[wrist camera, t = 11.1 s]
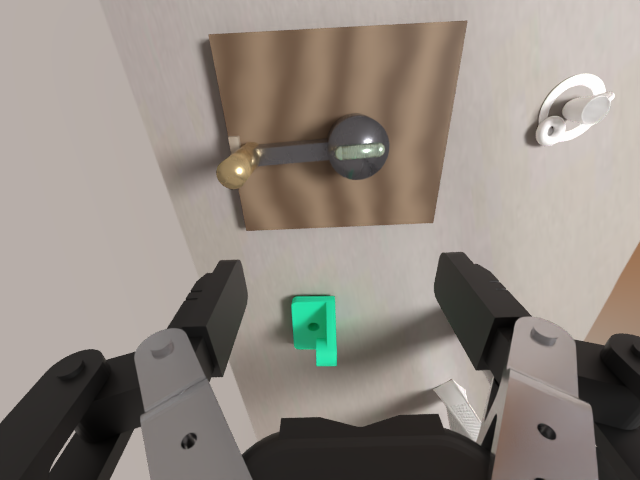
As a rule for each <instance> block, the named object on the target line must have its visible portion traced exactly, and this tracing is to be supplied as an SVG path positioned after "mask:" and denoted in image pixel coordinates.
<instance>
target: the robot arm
mask: <svg viewBox="0 0 640 480" xmlns="http://www.w3.org/2000/svg"><path fill="white" fill-rule="evenodd" d="M434 293H435V297H436V299H437V301H438V303H439V305H440V307H441V309H442V310H443V312H444V314H445V316H446V318H447V319H448V321H449V323H450V325H451V327H452V328H453V330H454V332H455V334H456V336H457V337H458V339H459V341H460V343H461V344H462V346H463V348H464V350H465V352H466V353H467V355H468V357H469V359H470V361H471V362H472V364H473V366H474V368H475V370H482V371H483V373H484V375H485V376H486V378H487V380H488V381H489V383H490V389H489V393H488V397H487V402H486V406H485V410H484V415H483V419H482V423H481V428H480V431H479V435H478V438H477V441H476V442H475V441H473V440H471V439H470V438H468V437H466V436H464V435H462V434H460V433H457V432H455V431H452V430H449V429H446V428H443V425H442V423H441V420H440V417H439V414H418V415H398V416H395V417H392V418H389V419H386V420H383V421H380V422H377V423H373V424H370V425H367V426H364V427H356V426H352V425H348V424H344V423H340V422H337V421H333V420H329V419H325V418H321V417H309V418H281V424H280V432H277V433H274V434H271V435H269V436H267V437H265V438H263V439H262V440H260V441H258V442H257V443H255V444H254V445H253V446H251V447H250V448H249V449H248V450H246V452H244V453H243V454H242V455H241V453H240V451H239V448H238V446H237V444H236V442H235V439H234V437H233V435H232V433H231V431H230V429H229V426H228V424H227V422H226V420H225V417H224V415H223V413H222V410H221V408H220V406H219V404H218V401H217V399H216V397H215V395H214V392H213V390H212V388H211V386H210V384H209V382H210V379H211V377H223V375H224V372H225V369H226V366H227V363H228V360H229V357H230V354H231V351H232V348H233V345H234V342H235V339H236V336H237V333H238V330H239V327H240V324H241V321H242V318H243V315H244V312H245V309H246V305H247V299H248V293H247V287H246V282H245V277H244V273H243V268H242V264H241V261H240V260H221V261H219V262H218V264H217V266H216V268H215V269H214V271H213V273H206V274H205V275H204V276H203V277H201V278H200V279H199V280H198V281H197V282H196V283H195V285H194V286H193V288H192V290H191V293H189V294H188V296H187V297H186V301H184V302H183V304H182V305H181V307H180V309H179V310H178V312H177V313H176V315H175V317H174V318H173V320H172V321H171V323H170V325H169V326H168V328H167V329H165V330H161V331H159V332H157V333H155V334H153V335H151V336H149V337H148V338H147V339H145V340H144V341H143V342H142V343H141V344H140V346H139V347H138V348H137V350H136V352H133V353H130V354H126V355H122V356H118V357H115V358H111V359H108V360H106V359H105V358H104V356H103V355H102V353H101V352H100V351H98V350H94V349H89V350H83V351H79V352H76V353H74V354H71V355H69V356H67V357H65V358H63V359H62V360H60V361H59V362H57V363H56V364H55V365H53V366H52V367H51V368H50V369H49V370H48V371H47V372H46V373H45V374H44V375H43V376H42V377H41V378H40V379H39V381H38V382H37V383H36V384H35V385H34V386H33V387H32V388H31V389H30V391H29V392H28V393H27V394H26V395H25V396H24V397H23V398H22V400H21V401H20V402H19V403H18V404H17V405H16V406H15V407H14V409H13V410H12V411H11V412H10V413H9V414H8V415H7V416H6V417H5V419H4V420H3V421H2V422H1V423H0V480H110V478H111V476H112V474H113V472H114V469H115V467H116V465H117V463H118V461H119V459H120V457H121V455H122V453H123V451H124V449H125V447H126V445H127V443H128V441H129V439H130V437H131V434H132V432H133V430H134V429H135V428H138V427H141V428H142V434H143V439H144V444H145V450H146V456H147V462H148V467H149V473H150V478H151V480H640V337H639V336H635V335H630V334H614V335H612V336H611V337H610V338H609V340H608V341H607V343H606V344H605V346H604V345H599V344H594V343H589V342H584V341H579V340H574V339H573V338H572V336H571V335H570V334H569V333H568V332H567V331H565V330H564V329H563V328H561V327H560V326H558V325H556V324H555V323H552V322H550V321H548V320H545V319H542V318H538V317H532V316H531V315H530V314H529V313H528V312H527V310H526V309H525V308H524V307H523V306H522V305H521V304H520V303H519V302H518V301H517V300H516V299H515V298H514V297H513V295H512V294H511V293H510V292H509V291H508V290H506V288H505V287H504V286H503V285H502V284H501V283H499V280H498V279H497V278H496V277H495V276H494V275H493V274H492V273H491V272H490V271H488V270H487V269H485V268H483V267H482V266H480V265H478V264H473V262H472V261H471V260H470V259H469V258H468V257H467V256H466V254H465V253H463V252H449V253H442V254H441V255H440V258H439V262H438V267H437V272H436V277H435V282H434ZM74 430H75V432H76V433H75V434H74V436H73V437H72V439H71V440H70V442H69V443H68V445H67V446H66V448H65V450H64V451H63V453H62V454H61V456H60V457H59V459H58V460H57V462H56V463H55V465H54V466H53V468H52V469H51V471H50V468H51V466H52V464H53V462H54V460H55V458H56V457H57V455H58V454H59V452H60V450H61V449H62V448H63V446H64V444H65V443H66V441H67V440H68V438H69V437H70V435H71V434H72V432H73V431H74ZM595 444H596V446H597V447H596V446H595Z"/></svg>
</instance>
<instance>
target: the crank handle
mask: <svg viewBox="0 0 640 480" xmlns="http://www.w3.org/2000/svg"><path fill="white" fill-rule="evenodd" d="M388 154H389V138H388V135H387V133H386V131H385V129H384V128H383V127H382V125H381V124H380V123H378V122H377V121H375V120H374V119H372V118H370V117H369V116H367V115H364V114H360V113H352V114H348V115H345V116H343V117H341V118H340V119H338V120H337V121H336V122H335V123H334V124H333V126H332V127H331V129H330V131H329V134H328V137H327V138H324V139H313V140H302V141H291V142H280V143H269V144H257V143H255V142H248V143H246V144H244V145H243V146H242V147H241V148H239V149H238V150H237V151H236V152H234V153H233V154H232V155H230V156H229V157H228V158H227V159H225V160H224V161H223V162H221V163H220V164H219V165H218V167H217V171H216V175H217V178H218V180H219V182H220V183H221V184H222V185H223V186H225V187H226V188H229V189H238V188H240V187H242V186H243V184H244V183H245V182H246V181H247V179H248V178H249V177H250V175H251V174H252V173H253V171H254V170H255V169H256V167H257V166H267V165H278V164H290V163H301V162H312V161H324V160H330V163H331V165H332V167H333V168H334V169H335V171H336V172H337V173H338V174H340V175H341V176H343V177H345V178H347V179H351V180H362V179H366V178H369V177H371V176H373V175H374V174H376V173H377V172H378V171H379V170H380V169H381V168H382V167H383V165H384V164H385V162H386V160H387V157H388Z"/></svg>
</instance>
